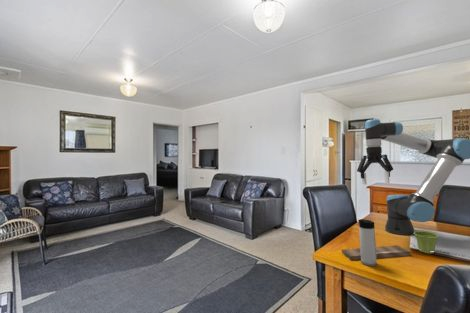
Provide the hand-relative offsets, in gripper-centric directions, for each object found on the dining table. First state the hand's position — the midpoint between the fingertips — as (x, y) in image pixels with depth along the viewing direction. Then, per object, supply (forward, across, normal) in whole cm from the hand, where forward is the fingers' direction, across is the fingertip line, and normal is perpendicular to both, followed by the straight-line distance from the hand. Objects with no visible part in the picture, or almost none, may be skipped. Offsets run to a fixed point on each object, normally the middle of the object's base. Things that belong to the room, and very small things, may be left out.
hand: (375, 183), depth 133 cm
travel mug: (+33, +23, +25) cm, 47 cm away
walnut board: (+33, +14, +17) cm, 39 cm away
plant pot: (+33, -12, +18) cm, 39 cm away
